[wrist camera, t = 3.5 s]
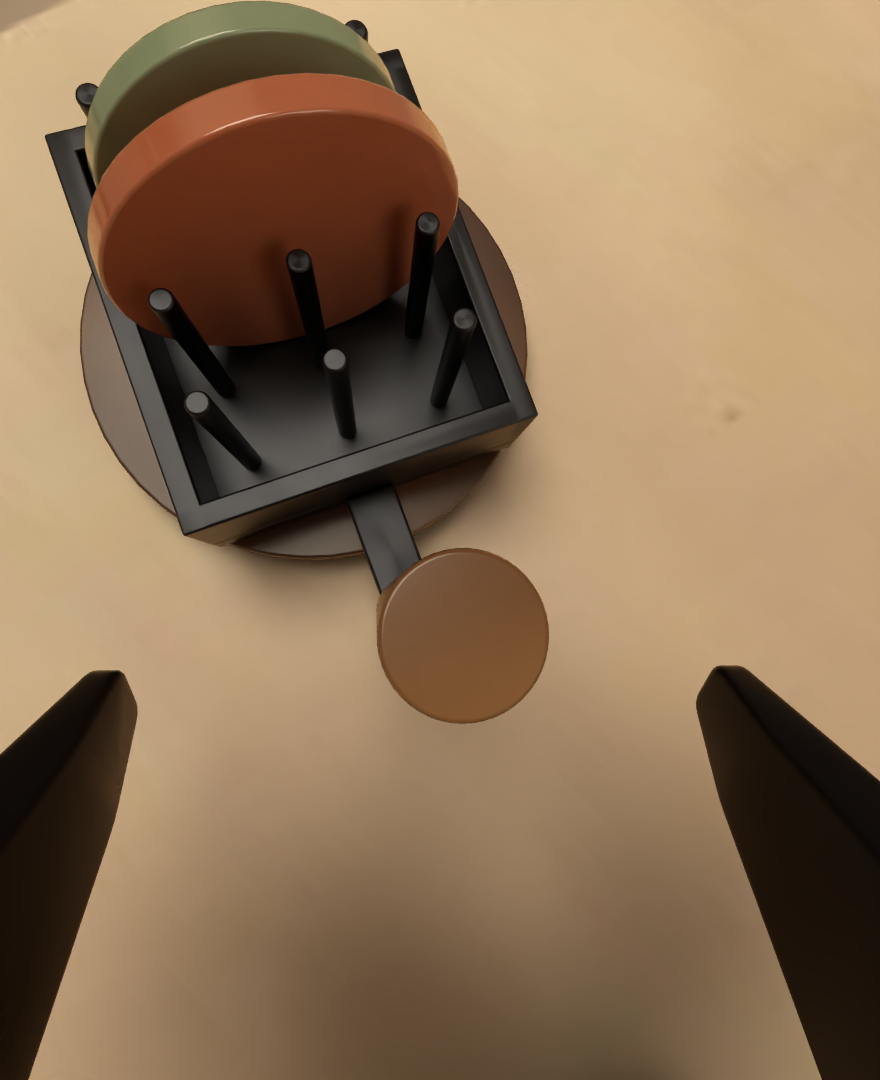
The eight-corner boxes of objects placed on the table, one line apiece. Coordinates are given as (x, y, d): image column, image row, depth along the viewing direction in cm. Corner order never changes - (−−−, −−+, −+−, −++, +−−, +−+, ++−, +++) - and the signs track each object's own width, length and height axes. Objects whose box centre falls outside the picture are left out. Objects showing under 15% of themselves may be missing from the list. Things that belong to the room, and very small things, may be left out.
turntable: (419, 628, 19) (423, 631, 17) (24, 453, 18) (-8, 440, 16) (575, 274, 20) (591, 249, 19) (219, 99, 20) (206, 58, 18)
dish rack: (564, 589, 18) (825, 583, 7) (273, 701, 16) (104, 879, 6) (394, 142, 18) (419, -434, 8) (104, 219, 17) (-299, -337, 7)
